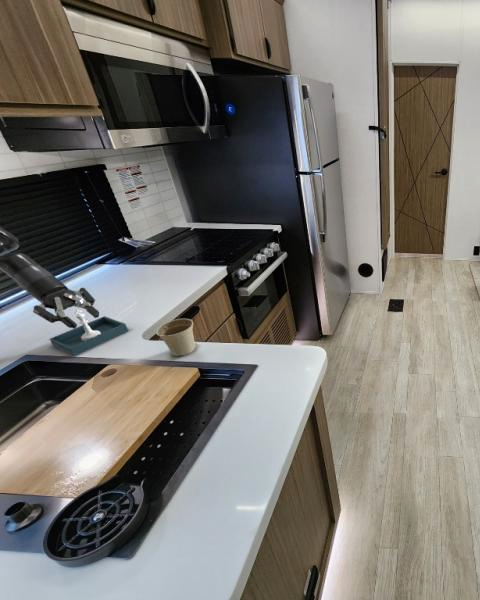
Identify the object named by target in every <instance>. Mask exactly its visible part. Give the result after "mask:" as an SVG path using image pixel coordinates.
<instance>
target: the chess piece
mask: <svg viewBox="0 0 480 600" xmlns="http://www.w3.org/2000/svg"><path fill="white" fill-rule="evenodd" d="M82 312H83V310H81V309H80V310H79V309H75V312H74V314H75V315H76V316H75V318H77V319H78V320H79V322H78V323H79V324H80V325H83V327H84V329H85V334H83V335H82V336H81V339H82V340H83V341H86V340H88V339H90V338H93V337H95V336H97V335H99V334H101V333H100V331H94V330H91V328H90V327H89V326H88V324H87V323H89V320H88V319H86V318H85V313H82Z"/></svg>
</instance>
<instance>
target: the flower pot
mask: <svg viewBox="0 0 480 600" xmlns="http://www.w3.org/2000/svg"><path fill="white" fill-rule="evenodd" d="M193 329H194V321H193V320H192V319H190V318H177V319H172V320H170V321H167V322H165V323H163V324H162V325H160V326H159V327H157V329H156V330H155V334H156V335H157V336H158V337H159V338H160V339H161V340H162V341H163V342H164V344H165V345H166V346H167V348H168V349H169V351H170V352H171V354H172V355H173V356H175V357H179V356H186V355H189V354H191V353H192V352H194V350H195V348H196V342H195V338H194V332H193Z"/></svg>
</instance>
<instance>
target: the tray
mask: <svg viewBox="0 0 480 600" xmlns="http://www.w3.org/2000/svg"><path fill="white" fill-rule="evenodd" d="M86 323H87V324H88V326H89V327H90V328H91V330H94V331H100V333H101V334H99V335H97V336H95V337H93V338H90V339H88V340H86V341H83V340H82V339H81V336H82V335H83V334H85V329H84V327H83V324H81V325H80V326H77V327H76V328H74V329H73V328H71V329H70V330H67V331H65V332H63V333H60V334H58V335H55V336H53V337H51V338H49V341H50V343H51V345H52V346H53V347H54V348H57V349H59V350H61V351H62V352H65V353H67V354H69V355H71V356H73V357H75V356H77V355H79V354H82V353H83V352H86V351H88V350H90V349H93V348H94V347H97V346H99V345H101V344H104V343H105V342H107V341H110V340H112V339H114V338H116V337H118V336H120V335H122V334H125V333H126V332H128V331H129V328H128V327H127V325H126V323H124V322H122V321H119V320H116V319H114V318H111V317H108V316H106V315H104V316H102V317H98V318H97V319H96V318H95V320H92V321H88V322H86Z"/></svg>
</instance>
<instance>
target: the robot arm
mask: <svg viewBox="0 0 480 600" xmlns="http://www.w3.org/2000/svg"><path fill="white" fill-rule="evenodd" d="M19 247H20V240H19V239H18V238H17V236H15V235H14V234H12V233H11V232H9V230H7V229H5V228H4V227H1V226H0V270H1V271H2V272H3V273H5V274H6V275H7V276H8V277H10V278H11V279H12V280H14V281H15V283H17V285H18V286H19V287H21V288H22V290H23V291H25V292H27V293H28V294H29V295H30V296H32V297H33V298H34V299H35V300H37V301H38V302H40V304H39V305H37V304H36V305H34V306H33V309H32V312H33V313H34V314H35V315H37V316H39V317H40V318H42V319H44V320H45V321H47V322H49V323H50V324H54V323H55V322H60V323H62V324H64V325H65V326H66V327H67V328H69V329H75V328H77V327H78V323H76V322H75V321H74V320H73V319H72V318H71V317H69V316H68V315H66V314H65V310H67V309H68V308H73V307H75V308H80V309H83V310H85V311H86V312H87V313H88V314H89V315H91V316H92V317H93V318H94V319H96V318H97V319H98V318H100V317H99V316H100V311H99V310H98V309H97V308H95V307H94V304H95V302H96V299H95V298H94V297H93V296H92V294H91V293H90V292H89V291H88V290H87V289H86V288H85V287H80V288H79V289H76V290H73V289H70V288H68V286H66V285H65V284H64V283H63V282H62V281H61V280H59V279H58V278H57V277H56V276H55V275H53V273H51V272H50V271H49V270H47V269H45V268H44V267H42V266H41V265H40V264H38V263H37V261H35V260H33V258H31V257H30V256H29V255H27V254H25V253H20V252H19V253H18V252H17V253H12V254H11V252H13V251H16V250H17V249H18V248H19ZM9 253H10V254H9ZM77 296H78V297H77ZM47 309H51V310H54V314H53V313H52V312H50V311H48V310H47Z"/></svg>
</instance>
